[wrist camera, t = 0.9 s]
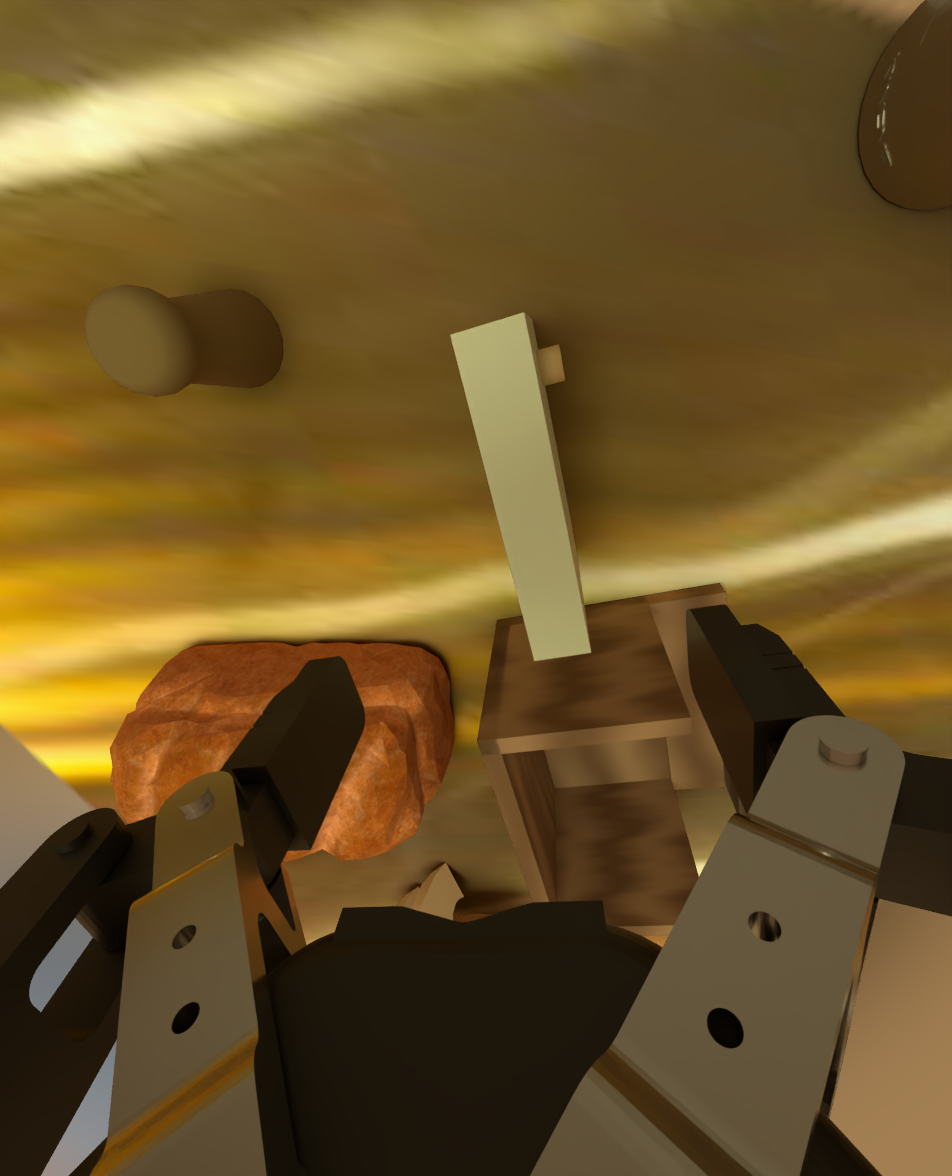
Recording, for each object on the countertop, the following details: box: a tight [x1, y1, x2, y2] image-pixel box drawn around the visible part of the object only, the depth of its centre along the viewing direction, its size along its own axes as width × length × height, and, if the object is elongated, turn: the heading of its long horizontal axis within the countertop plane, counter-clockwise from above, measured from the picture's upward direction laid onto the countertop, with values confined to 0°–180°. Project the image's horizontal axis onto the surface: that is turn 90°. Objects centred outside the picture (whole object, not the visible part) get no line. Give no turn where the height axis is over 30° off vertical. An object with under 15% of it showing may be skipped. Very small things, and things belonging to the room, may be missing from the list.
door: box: [450, 312, 591, 661], centre depth 29 cm, size 4×16×14 cm, turn 15°
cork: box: [84, 285, 283, 397], centre depth 29 cm, size 6×6×11 cm
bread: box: [110, 642, 454, 861], centre depth 41 cm, size 14×26×16 cm, turn 95°
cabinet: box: [477, 583, 747, 936], centre depth 38 cm, size 18×20×14 cm
